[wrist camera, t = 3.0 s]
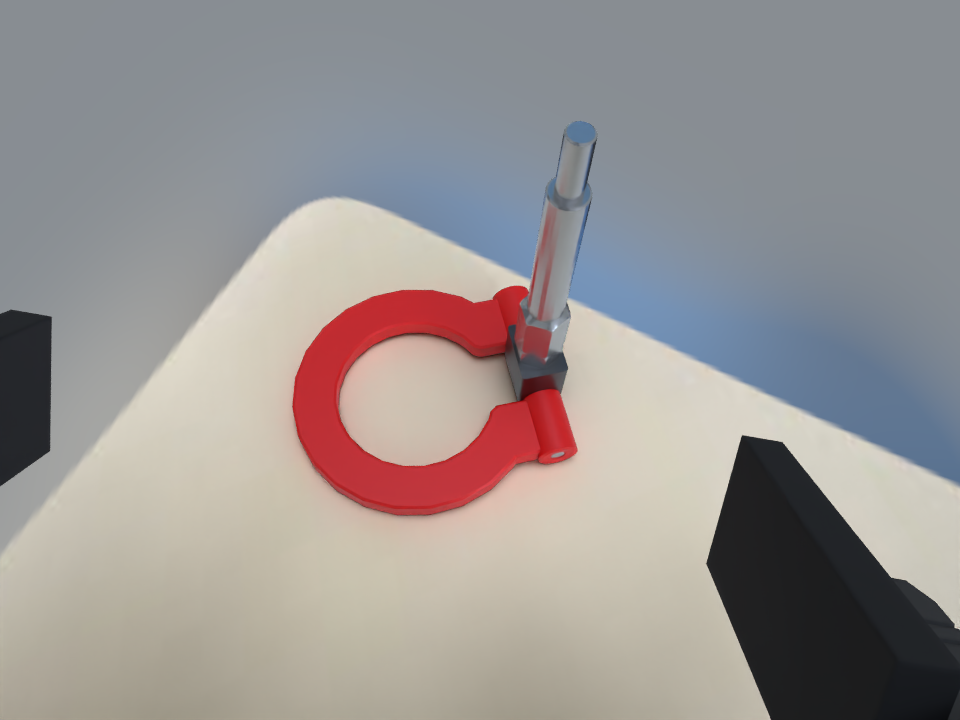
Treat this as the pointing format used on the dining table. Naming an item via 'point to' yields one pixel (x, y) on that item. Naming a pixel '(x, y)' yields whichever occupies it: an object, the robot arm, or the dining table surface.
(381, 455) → the dining table surface
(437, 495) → the tow hook
